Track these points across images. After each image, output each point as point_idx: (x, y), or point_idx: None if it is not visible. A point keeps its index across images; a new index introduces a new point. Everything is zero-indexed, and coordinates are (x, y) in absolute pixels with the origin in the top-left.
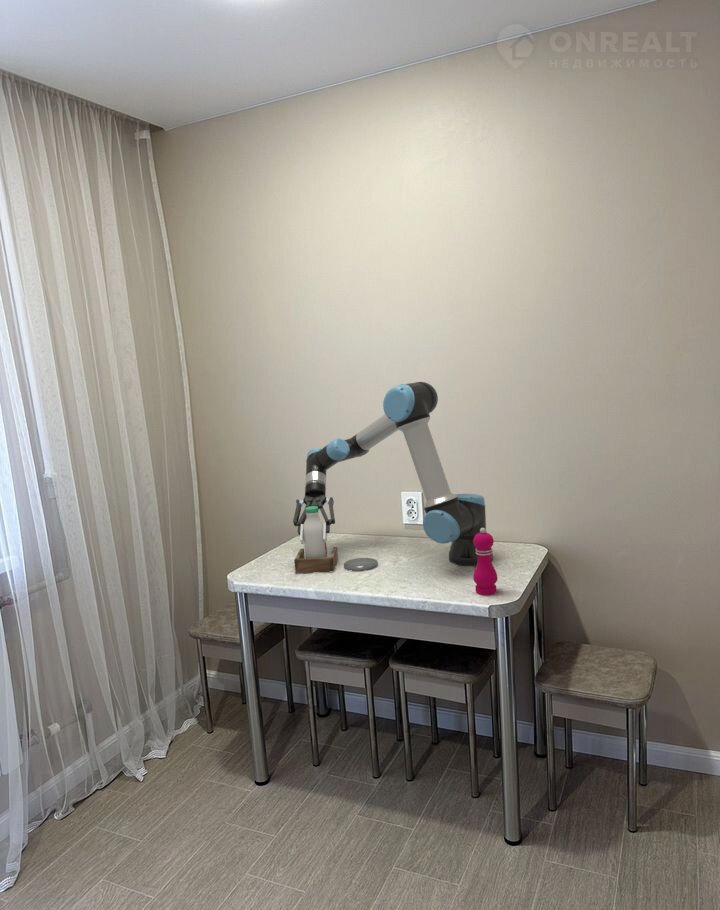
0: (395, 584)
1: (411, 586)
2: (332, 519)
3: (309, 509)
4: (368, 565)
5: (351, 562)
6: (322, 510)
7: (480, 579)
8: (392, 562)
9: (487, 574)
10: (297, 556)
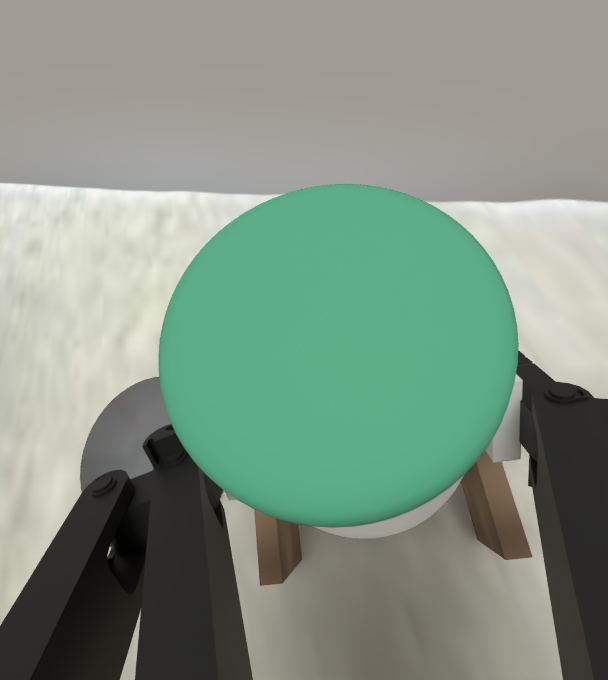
0: (50, 267)
1: (11, 258)
2: (105, 477)
3: (327, 186)
4: (118, 419)
5: None
6: (180, 653)
7: None
8: (32, 503)
9: None
10: None
